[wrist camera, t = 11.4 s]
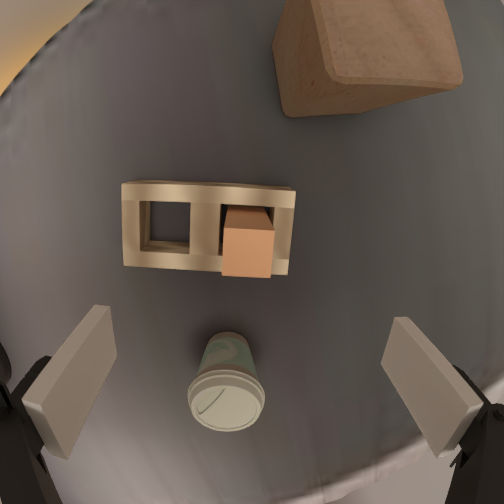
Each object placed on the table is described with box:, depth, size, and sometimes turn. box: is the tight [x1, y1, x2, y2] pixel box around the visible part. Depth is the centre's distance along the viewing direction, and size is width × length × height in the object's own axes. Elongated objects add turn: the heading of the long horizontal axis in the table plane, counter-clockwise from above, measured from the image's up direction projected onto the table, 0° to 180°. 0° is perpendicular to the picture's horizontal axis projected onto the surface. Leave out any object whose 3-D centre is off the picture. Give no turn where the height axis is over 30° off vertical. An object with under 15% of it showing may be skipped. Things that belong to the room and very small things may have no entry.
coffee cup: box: [188, 332, 265, 431], centre depth 36 cm, size 9×8×12 cm
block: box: [272, 0, 463, 118], centre depth 23 cm, size 10×10×20 cm
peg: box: [222, 205, 275, 278], centre depth 31 cm, size 4×4×12 cm
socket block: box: [122, 180, 296, 275], centre depth 35 cm, size 18×9×4 cm, turn 86°
